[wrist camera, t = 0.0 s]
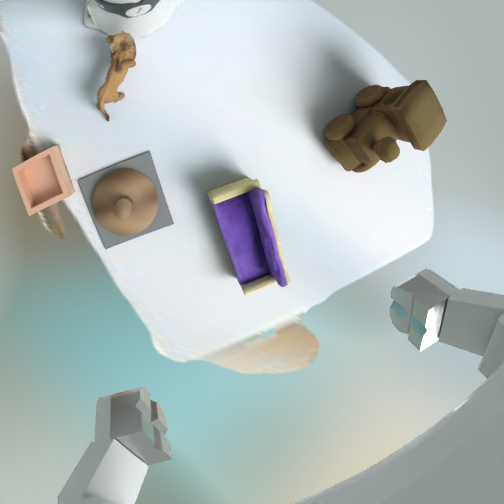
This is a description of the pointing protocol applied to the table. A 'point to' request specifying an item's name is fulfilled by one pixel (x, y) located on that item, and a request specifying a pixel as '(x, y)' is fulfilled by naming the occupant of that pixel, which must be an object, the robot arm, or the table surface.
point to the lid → (125, 202)
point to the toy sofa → (250, 234)
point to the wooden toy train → (385, 125)
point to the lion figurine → (116, 68)
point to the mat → (139, 164)
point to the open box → (43, 180)
